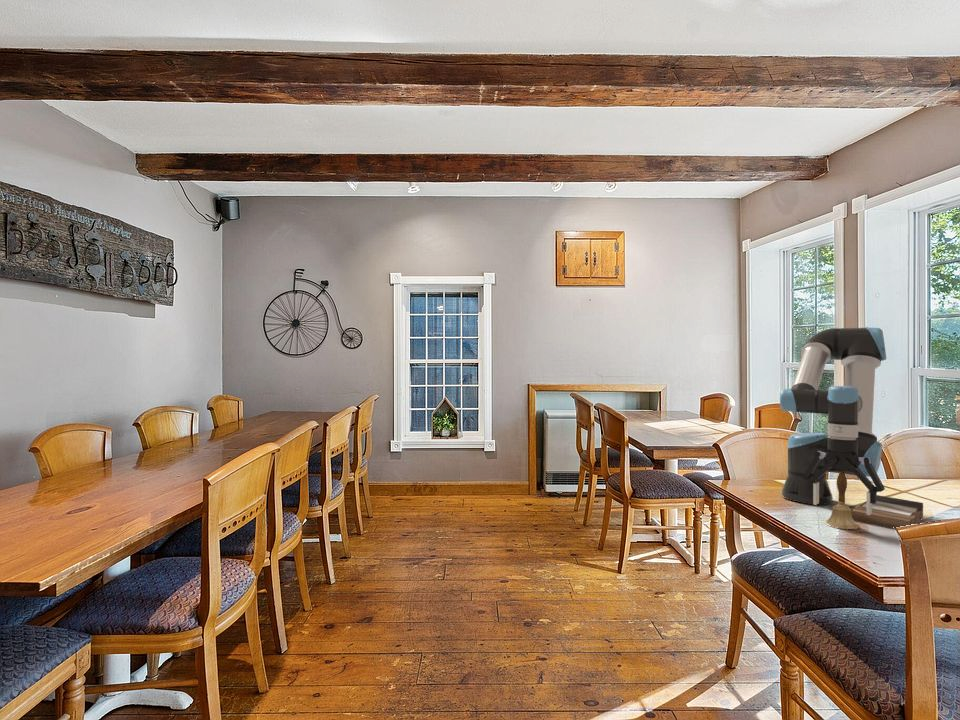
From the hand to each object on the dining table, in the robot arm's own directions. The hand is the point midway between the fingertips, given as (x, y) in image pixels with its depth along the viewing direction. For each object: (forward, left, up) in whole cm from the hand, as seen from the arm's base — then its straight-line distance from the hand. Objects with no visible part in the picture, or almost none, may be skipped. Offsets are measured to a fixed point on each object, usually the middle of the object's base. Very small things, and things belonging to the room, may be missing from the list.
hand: (841, 509), depth 159 cm
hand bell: (0, 0, -5) cm, 5 cm away
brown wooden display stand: (+15, +11, -5) cm, 19 cm away
